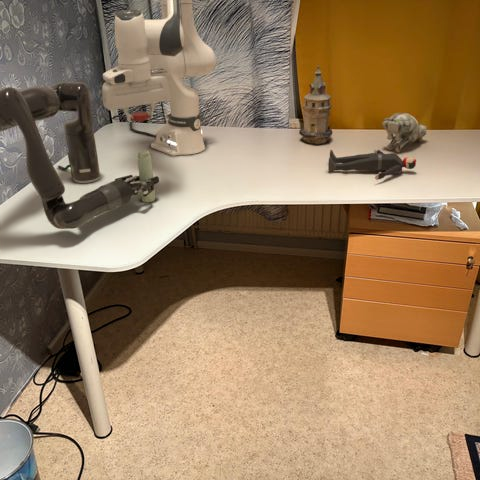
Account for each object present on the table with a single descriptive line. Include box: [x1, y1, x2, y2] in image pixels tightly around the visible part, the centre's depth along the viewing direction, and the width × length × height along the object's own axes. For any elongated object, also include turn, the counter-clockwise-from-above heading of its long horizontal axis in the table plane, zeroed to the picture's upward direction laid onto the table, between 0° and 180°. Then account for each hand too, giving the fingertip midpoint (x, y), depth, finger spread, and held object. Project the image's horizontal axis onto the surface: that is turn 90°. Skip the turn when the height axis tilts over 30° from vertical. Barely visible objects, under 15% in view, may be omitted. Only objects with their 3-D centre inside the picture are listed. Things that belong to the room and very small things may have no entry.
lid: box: [131, 110, 149, 122], centre depth 159 cm, size 5×5×2 cm
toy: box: [327, 149, 417, 181], centre depth 190 cm, size 26×6×30 cm
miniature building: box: [298, 65, 333, 145], centre depth 213 cm, size 13×14×30 cm
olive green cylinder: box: [136, 149, 156, 203], centre depth 169 cm, size 4×4×16 cm
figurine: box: [381, 112, 428, 153], centre depth 209 cm, size 10×19×20 cm
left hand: (152, 177), depth 171 cm, fingers closed on olive green cylinder, 4 cm apart
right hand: (140, 119), depth 160 cm, fingers closed on lid, 5 cm apart
